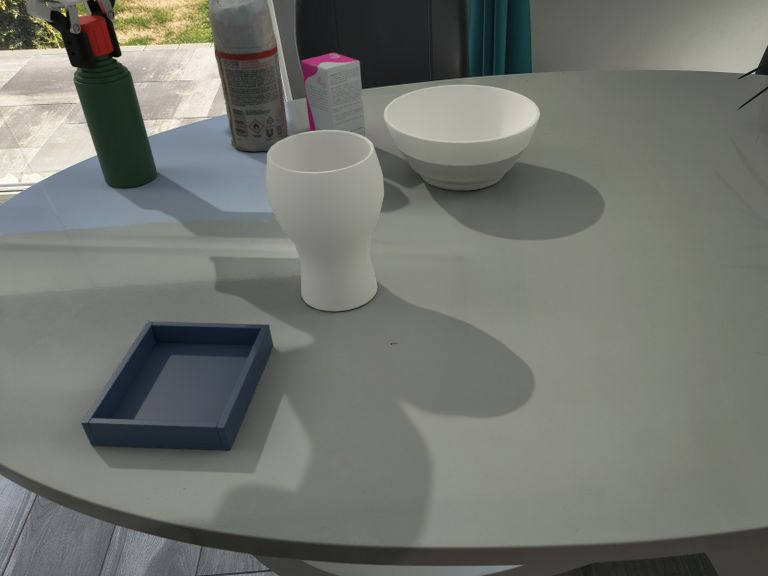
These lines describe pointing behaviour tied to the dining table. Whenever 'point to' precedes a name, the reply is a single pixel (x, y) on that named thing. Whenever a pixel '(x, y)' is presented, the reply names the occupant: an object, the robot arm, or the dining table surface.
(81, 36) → the robot arm
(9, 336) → the dining table surface
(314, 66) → the supplement box
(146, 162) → the sauce bottle
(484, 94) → the bowl
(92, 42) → the cap
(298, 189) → the cup
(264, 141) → the spray can
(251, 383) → the tray
